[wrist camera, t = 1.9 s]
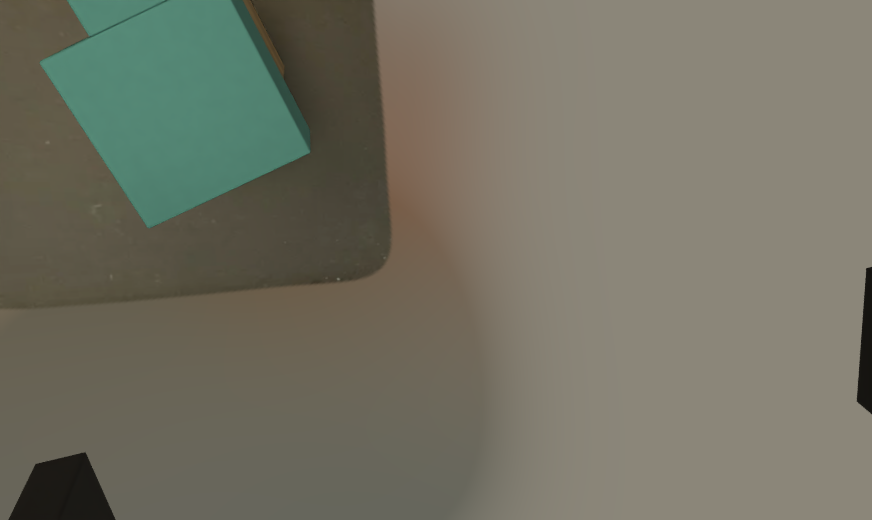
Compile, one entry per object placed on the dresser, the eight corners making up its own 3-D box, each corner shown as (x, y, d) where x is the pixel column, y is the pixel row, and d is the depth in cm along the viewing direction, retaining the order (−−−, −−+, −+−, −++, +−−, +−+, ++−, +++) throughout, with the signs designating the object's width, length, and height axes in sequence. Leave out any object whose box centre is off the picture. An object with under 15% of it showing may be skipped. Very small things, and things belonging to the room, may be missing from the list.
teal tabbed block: (186, -109, 29) (172, -113, 26) (310, 130, 33) (311, 153, 30) (18, -28, 29) (-18, -22, 26) (163, 200, 33) (148, 229, 30)
